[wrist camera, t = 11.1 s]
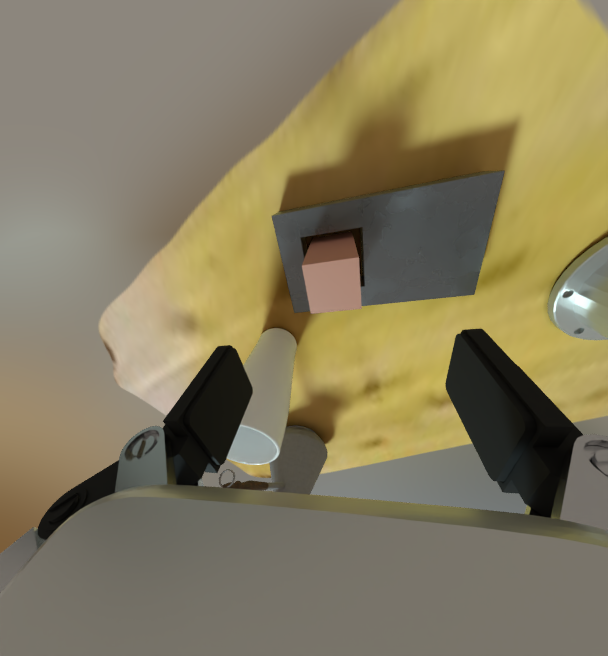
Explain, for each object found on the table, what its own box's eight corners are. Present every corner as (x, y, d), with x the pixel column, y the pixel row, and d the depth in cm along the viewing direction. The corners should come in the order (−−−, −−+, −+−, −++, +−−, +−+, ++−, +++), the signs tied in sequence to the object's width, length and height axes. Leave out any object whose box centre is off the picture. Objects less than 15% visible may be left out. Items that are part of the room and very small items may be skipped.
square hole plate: (482, 171, 19) (504, 170, 16) (460, 282, 24) (474, 294, 22) (278, 211, 22) (271, 216, 20) (298, 300, 28) (294, 312, 25)
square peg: (351, 231, 23) (358, 257, 15) (354, 269, 25) (361, 308, 17) (312, 237, 23) (301, 265, 16) (318, 274, 26) (310, 313, 18)
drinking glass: (270, 312, 29) (221, 411, 17) (312, 338, 31) (295, 447, 18) (247, 344, 33) (193, 445, 20) (286, 366, 34) (258, 473, 22)
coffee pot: (336, 448, 45) (336, 549, 33) (287, 454, 49) (270, 547, 37) (288, 377, 36) (263, 483, 23) (231, 392, 39) (183, 490, 27)
